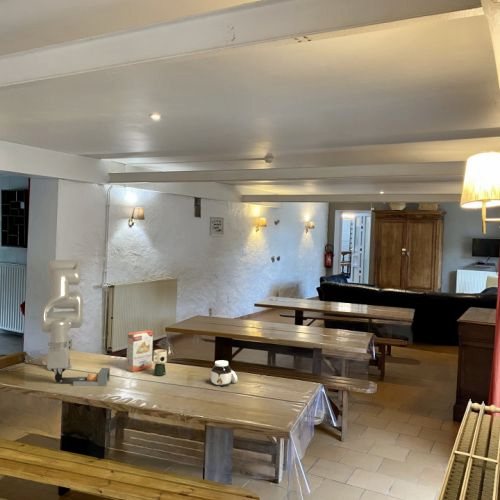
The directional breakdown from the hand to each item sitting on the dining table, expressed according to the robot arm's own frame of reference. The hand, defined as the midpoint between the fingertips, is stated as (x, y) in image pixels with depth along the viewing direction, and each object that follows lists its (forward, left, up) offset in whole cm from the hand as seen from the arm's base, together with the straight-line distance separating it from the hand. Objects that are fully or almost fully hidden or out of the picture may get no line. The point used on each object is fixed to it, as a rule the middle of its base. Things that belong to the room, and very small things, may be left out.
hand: (58, 381), depth 244 cm
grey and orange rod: (+11, 0, -1) cm, 11 cm away
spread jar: (+83, -4, -1) cm, 83 cm away
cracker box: (+37, +24, -1) cm, 44 cm away
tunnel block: (+16, 0, -1) cm, 16 cm away
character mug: (+49, +13, -1) cm, 51 cm away
